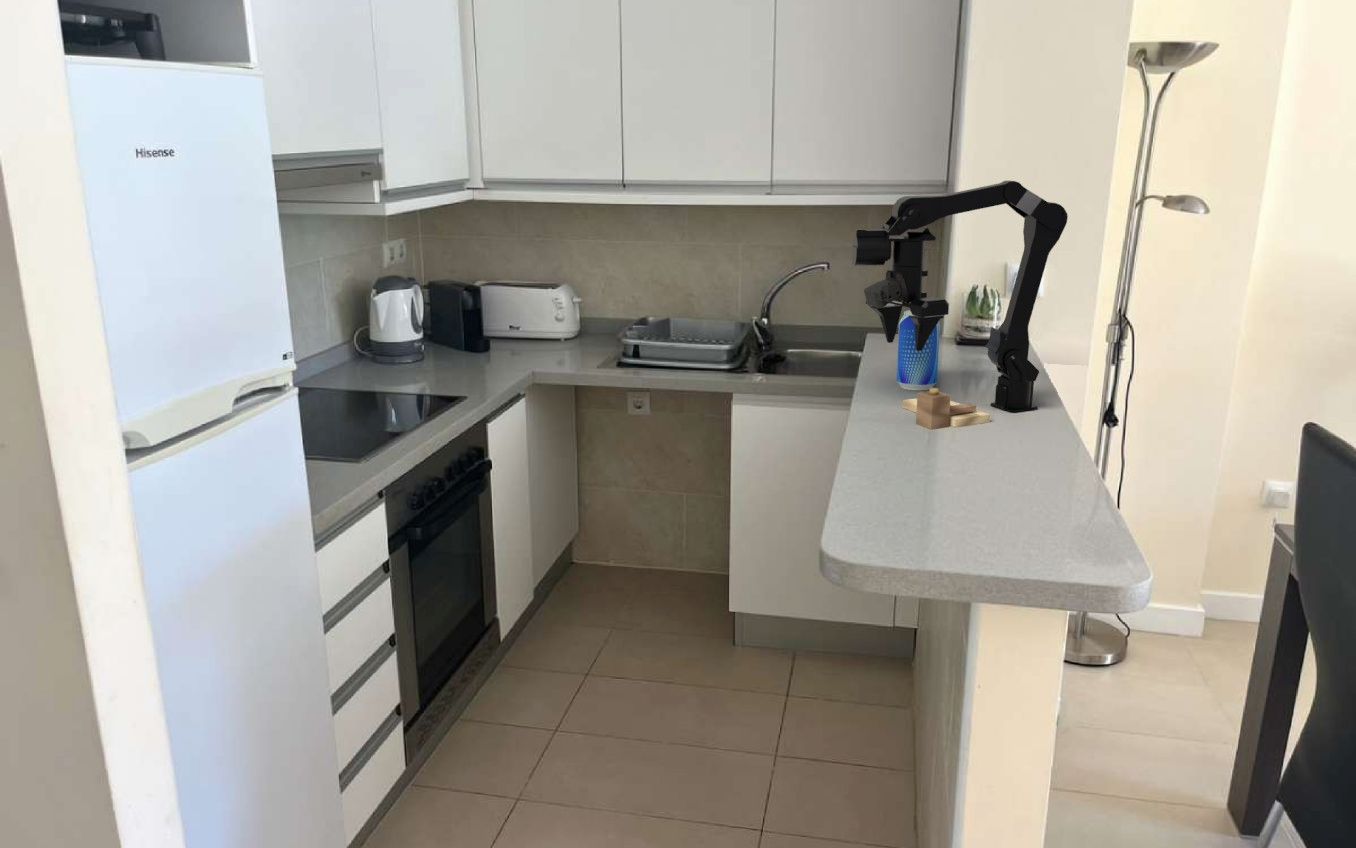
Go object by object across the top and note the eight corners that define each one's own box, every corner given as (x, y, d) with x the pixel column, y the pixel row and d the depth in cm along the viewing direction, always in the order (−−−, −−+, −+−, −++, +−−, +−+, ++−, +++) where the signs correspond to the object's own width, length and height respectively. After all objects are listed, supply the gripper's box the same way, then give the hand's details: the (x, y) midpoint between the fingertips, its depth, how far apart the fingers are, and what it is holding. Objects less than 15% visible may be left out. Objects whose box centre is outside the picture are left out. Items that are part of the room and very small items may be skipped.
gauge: (963, 416, 190) (965, 380, 188) (979, 422, 186) (981, 385, 184) (915, 424, 185) (917, 387, 184) (930, 429, 182) (932, 392, 180)
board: (935, 402, 200) (936, 395, 199) (989, 422, 186) (990, 414, 185) (902, 407, 197) (902, 400, 196) (954, 427, 183) (955, 419, 182)
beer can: (893, 389, 211) (896, 314, 207) (900, 381, 219) (903, 308, 214) (933, 392, 208) (937, 316, 204) (939, 383, 215) (943, 310, 211)
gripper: (844, 262, 193) (841, 342, 197) (901, 273, 177) (898, 359, 181) (892, 259, 197) (889, 337, 202) (952, 269, 181) (948, 353, 185)
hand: (904, 346), depth 192 cm, fingers open, 9 cm apart
